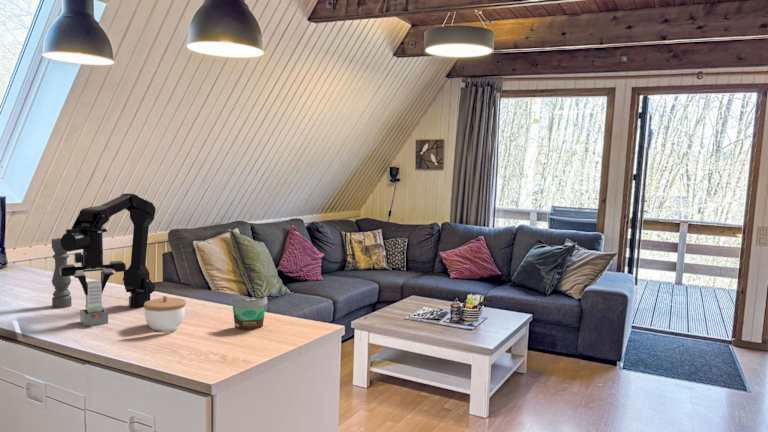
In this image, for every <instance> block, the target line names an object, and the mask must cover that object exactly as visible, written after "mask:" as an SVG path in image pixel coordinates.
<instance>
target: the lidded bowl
mask: <svg viewBox="0 0 768 432" xmlns="http://www.w3.org/2000/svg"><path fill="white" fill-rule="evenodd" d="M186 304H187V303H186V300H185V299H183V298H177V297H168V296H167V295H163V296H162V297H159V298H153V299H150V300H149V301H146V302H145V303H144V307H143V308H144V309H143V310H144V312H143V313H144V318H145V321H146V324H147V325H148V327H149V328H151V329H152V330H155V331H154V332H155V333H160V334H161V333H162V334H164V333H165V334H166V333H172V332H175V331H177V329H178V327H180V326H181V325H182V323H183V321H184V318H185V313H186Z"/></svg>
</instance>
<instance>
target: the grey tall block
mask: <svg viewBox="0 0 768 432" xmlns="http://www.w3.org/2000/svg"><path fill="white" fill-rule="evenodd" d="M86 284H87V295H85V306H84V308H85V309H86V314H90V313H98V312H102V309H103V308H102V307H103V300H102V299H103V295H102V294H103V293H102V283H101V280H90V281H87V280H86Z"/></svg>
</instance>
